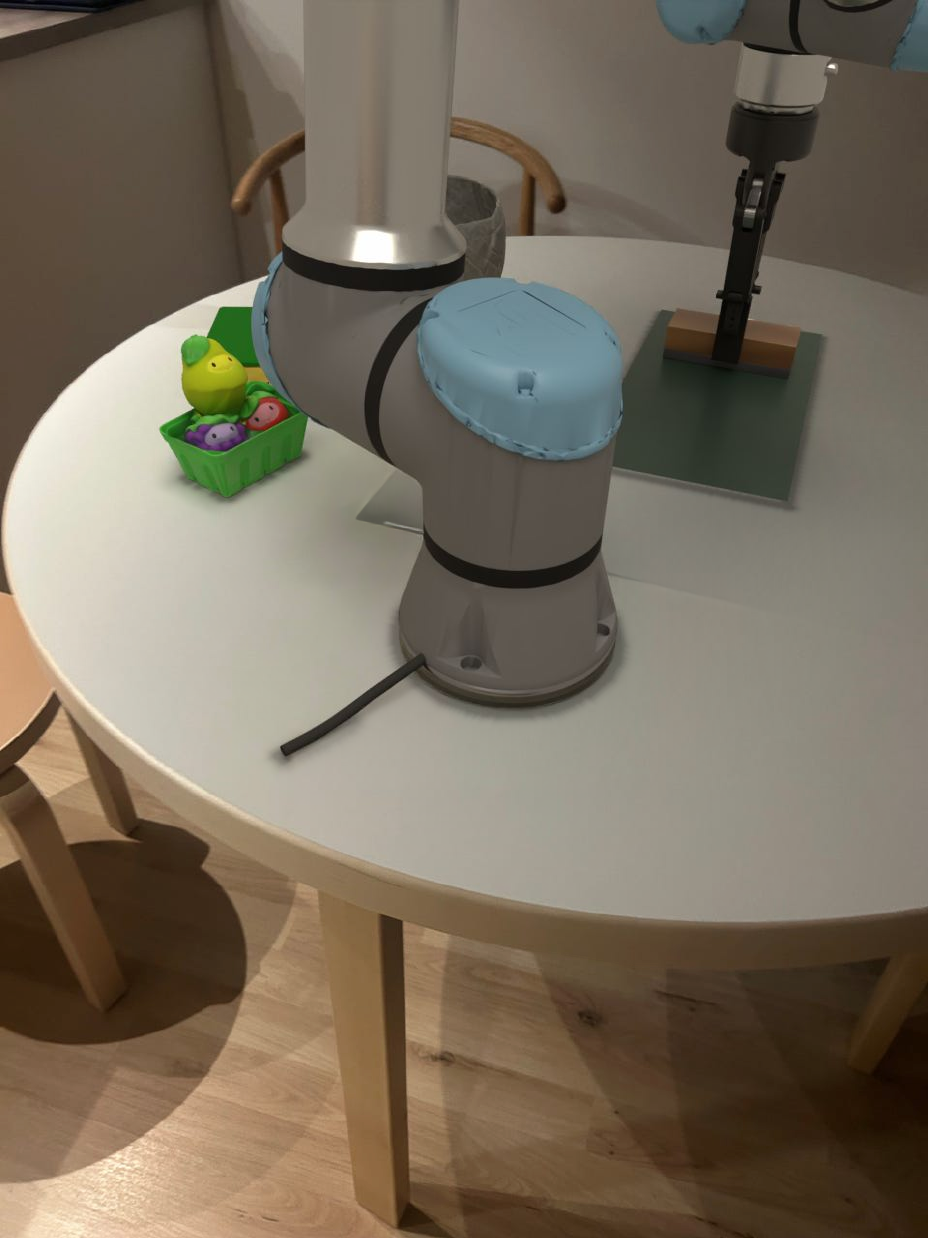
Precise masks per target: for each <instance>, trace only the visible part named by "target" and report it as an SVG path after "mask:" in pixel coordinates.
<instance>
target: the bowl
mask: <svg viewBox="0 0 928 1238" xmlns="http://www.w3.org/2000/svg"><path fill="white" fill-rule="evenodd" d="M445 212H446V214H447V217H448V218H449V219H450V220H451V222H452V223H453V224H454V225H455V227H456V228H457V229H458V230H459V232H460V233H461V234H462V235H463V237H464V238H465V240H466V256H465V271H464V281H467V280H472V279H479V278H502V274H503V271H504V267H505V261H506V245H507V241H506V240H507V231H506V217H505V214H504V209H503V206H502V203H501V199H500V197H499V195H498V193H497V192H496V191H495V189H494V188H492V187H491V186H489V185H488V184H486V183H484V182H481V181H479V180H478V179H475V178H472V177H468V176H464V175H460V174H459V175H458V174H449V173H448V174H447V188H446V203H445Z"/></svg>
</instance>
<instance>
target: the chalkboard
mask: <svg viewBox="0 0 928 1238" xmlns="http://www.w3.org/2000/svg"><path fill="white" fill-rule="evenodd" d="M675 311H676V310H674V311H673V310H668V309H661V310H660V312H659V314H658V315H657V318H656V320H655V321H654V323H653V324H652V327H651V329H650V330H649V331H648V332H649V333H648V334H647V336H646V338H645V339H644V341H643V343H642V345H641V347H640V349H639V351H638V353H637V354H636V356H635V358H634V360H633V362H632V364H631V366H630V368H629V369H628V371H627V373H626V375H625V377H624V378H623V379H622V388H621V390H622V395H623V397H622V402H623V412H622V419H621V424H620V427H619V429H618V431H617V436H616V443H615V450H614V457H613V465H612V468H616V469H621V470H627V471H632V472H637V473H641V474H647V475H652V476H655V477H662V478H667V479H671V480H676V481H683V482H686V483H691V484H697V485H702V486H706V487H712V488H716V489H722V490H728V491H731V492H736V493H737V492H738V493H741V494H746V495H751V496H757V497H762V498H767V499H772V500H777V501H781V502H788V501H789V496H790V492H791V487H792V483H793V482H792V481H793V477H794V472H795V466H796V462H797V458H798V453H799V448H800V443H801V438H802V432H803V428H804V424H805V419H806V413H807V410H808V409H807V408H808V404H809V401H810V400H809V399H810V395H811V389H812V386H813V385H812V384H813V380H814V375H815V370H816V365H817V360H818V355H819V350H820V346H821V341H822V335H823V334H822V333H815V332H809V331H802V330H801V333H800V337H799V341H798V344H797V348H796V352H795V356H794V360H793V364H792V367H791V371H790V375H789V378H788V379H785V378H779V377H773V376H767V375H762V374H756V373H750V372H744V371H739V370H733V369H727V368H721V367H715V366H710V365H704V364H698V363H692V362H687V361H681V360H675V359H669V358H664V357H663V352H664V345H665V339H666V333H667V327H668V324H669V323H670V321H671V319H672V317H673V315H674V313H675Z"/></svg>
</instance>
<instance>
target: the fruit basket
mask: <svg viewBox="0 0 928 1238" xmlns="http://www.w3.org/2000/svg"><path fill="white" fill-rule="evenodd" d="M206 337H207V336H205V335H198V334H197V333H195V334H192V335H190V336H189V337H188V338H186V339H185V340H184V341H183V343H182V345H181V347H180V353H181V365H182V371H181V377H180V378H181V380H180V381H181V388H182V392H183V395H184V397H185V399H186V401H187V403H188V404H189V405H190V406H191V407H192V409H190V410H188V411H186V412H184V413H182V414H181V415H177V417H174V418H173V419H171V420H169V421H166V422H165V423H163V424H162V425H161V426H159V428H158V431H159V433H160V434H161V436H162V437H163V439H164V441H165V442H166V443H168V445H169V447H170V449H171V451H172V452H173V454H174V456H175V459H176V460H177V461H178V463H179V465H180V467H181V469H182V470H183V472H184V474H185V475H186V478H187V479H188V480H190V481H194V482H196V483H198V484H199V485H200V486H201V487H205V488H206V489H208V490H210V491H213V492H215V493H219V494H220V495H221V496H222V497H224V498H230V497H231V496H233V495H235V494H237V493H238V492H240V491H241V490H242V489H243V488H246V487H248V486H250V485H252V484H254V483H256V482H257V481H259V480H261V479H262V478H263V477H264V476H266V475H268V474H271V473H273V472H274V471H276V470H278V469H280V468H282V467H283V465H285V464H286V463H289V462H292V461H293V460H294V461H295V459H297V458H299V457H300V456H302V453H303V452H302V451H303V446H304V442H305V436H306V435H305V434H306V431H307V425H308V420H309V417H308V416H306V415H304V414H303V413H301V412H300V411H298V410H297V409H296V408H295V406H294V405H293V404H292V403H290V402H289V401H288V400H286V399H285V398H284V397H283V396H281V395H280V394H279V393H278V391H277V390H276V389H275V388H274V387H273V386H272V385H271V383H265V382H262V381H250V382H248V383H247V381H248V375H247V373H246V370H245V369H244V367H243V366H242V364H241V363H240V362H239V361H238V360H237V359H236V358H235V357H234V356H232V355H231V354H230V353H228V352H227V351H225V349H224V348H223V347H222V346H221V345H220V344H219V343H218V342H217V341H215V340H213V339H210V338H206Z"/></svg>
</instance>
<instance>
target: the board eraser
mask: <svg viewBox="0 0 928 1238" xmlns="http://www.w3.org/2000/svg"><path fill="white" fill-rule="evenodd" d="M674 311H675V313H674V315H673V317H672V319H671V321H670V323H669V324H668V327H667V333H666V339H665V345H664V352H663V357H664V358H669V359H675V360H681V361H687V362H692V363H698V364H704V365H710V366H715V367H721V368H727V369H733V370H739V371H744V372H750V373H756V374H762V375H767V376H773V377H779V378H785V379H788V378H789V375H790V371H791V367H792V364H793V360H794V356H795V352H796V348H797V344H798V341H799V337H800V333H801V331H802V327H798V326H791V325H785V324H779V323H773V322H767V321H761V320H756V319H753V320H748V322H747V326H746V331H745V336H744V340H743V345H742V350H741V355H740V359H739V362H738V364H734V363H728V362H722V361H716V360H711V357H712V352H713V346H714V341H715V336H716V331H717V326H718V320H719V315H720V314H717V313H710V312H704V311H698V310H692V309H685V308H679V307H678V308H677V307H676V310H674ZM755 320H756V321H755Z"/></svg>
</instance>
